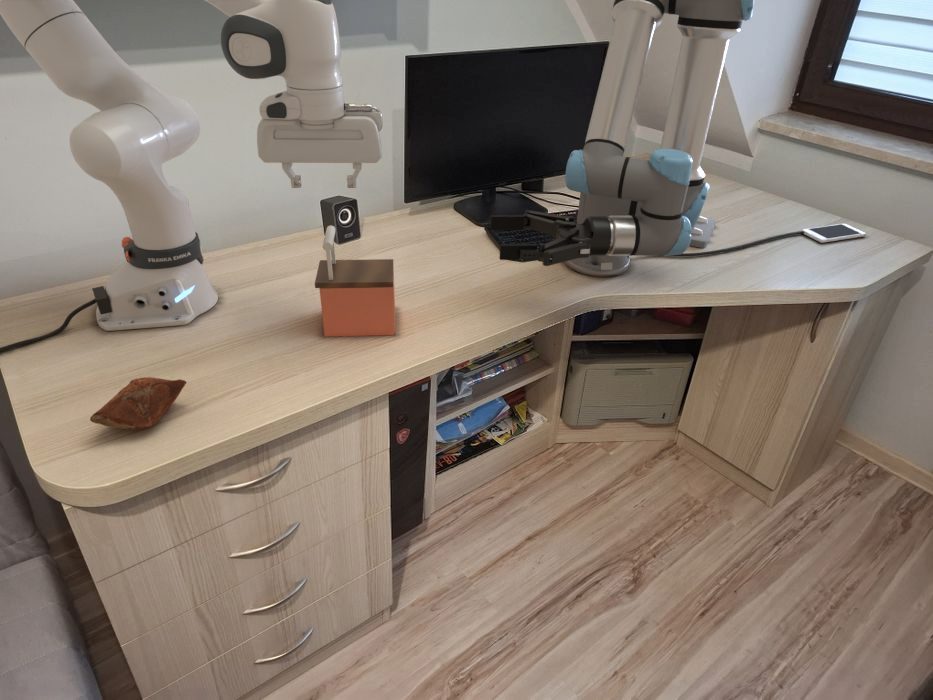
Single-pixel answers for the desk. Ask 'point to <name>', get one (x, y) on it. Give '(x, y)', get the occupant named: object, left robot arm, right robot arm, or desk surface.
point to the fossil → (139, 403)
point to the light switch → (702, 232)
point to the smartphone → (833, 233)
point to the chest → (358, 311)
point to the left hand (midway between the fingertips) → (324, 187)
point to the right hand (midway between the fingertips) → (494, 236)
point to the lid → (351, 269)
